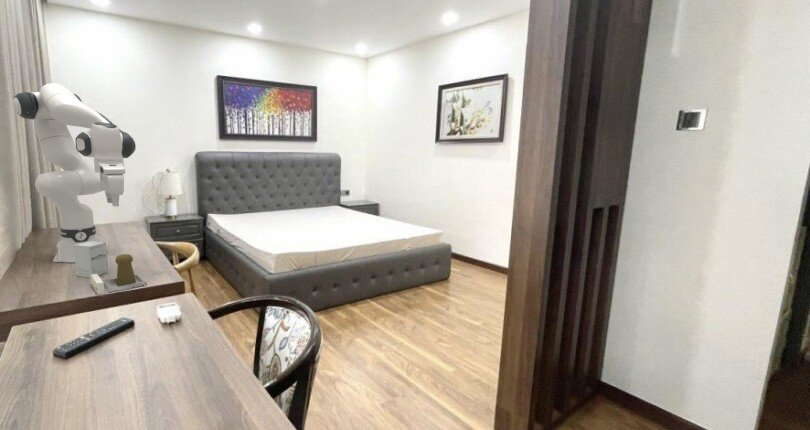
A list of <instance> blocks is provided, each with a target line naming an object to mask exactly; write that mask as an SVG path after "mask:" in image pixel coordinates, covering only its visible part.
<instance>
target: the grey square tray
mask: <svg viewBox="0 0 810 430" xmlns="http://www.w3.org/2000/svg"><path fill="white" fill-rule="evenodd" d="M134 276H135V280H136V283H131V284H126V285H120V286H117V285H116V282H117V277H112V278H106V279H102V281H103V285H104V288H105V289H106V291H108V293H115V292H120V291H125V289H127V290H130V289H129V288H132V289H134V288H133V287H137V288H139V287H138V286H142V287H145V286H144V285H147V286H148V281H147V280H146V279H145V278H144V277H143V276H142V275H141V274H140V273H134Z"/></svg>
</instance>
